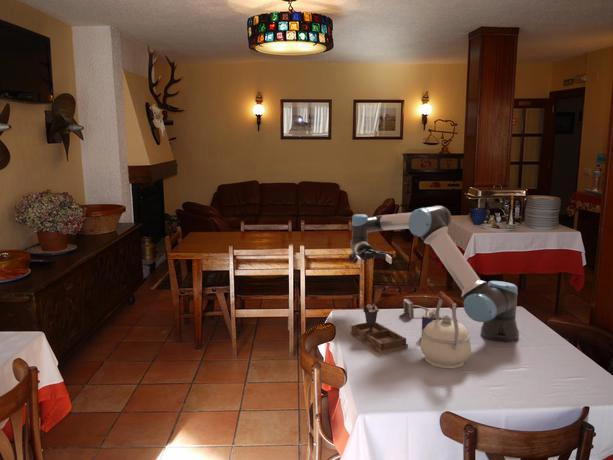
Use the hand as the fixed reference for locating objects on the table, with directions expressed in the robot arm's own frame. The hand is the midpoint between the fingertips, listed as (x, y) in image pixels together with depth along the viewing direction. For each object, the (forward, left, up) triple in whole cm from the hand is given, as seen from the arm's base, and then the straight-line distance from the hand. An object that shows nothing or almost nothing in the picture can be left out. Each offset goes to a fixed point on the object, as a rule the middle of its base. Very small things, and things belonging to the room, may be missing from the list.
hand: (375, 261), depth 226 cm
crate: (-14, +8, -30) cm, 34 cm away
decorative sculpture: (+1, -27, -30) cm, 40 cm away
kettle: (-40, -4, -30) cm, 50 cm away
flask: (-21, -15, -30) cm, 40 cm away
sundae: (-9, +8, -28) cm, 31 cm away
